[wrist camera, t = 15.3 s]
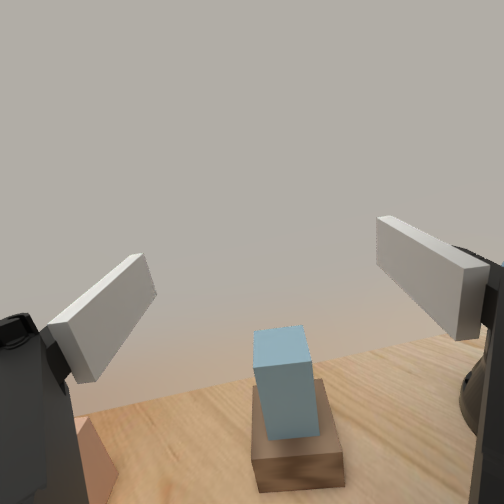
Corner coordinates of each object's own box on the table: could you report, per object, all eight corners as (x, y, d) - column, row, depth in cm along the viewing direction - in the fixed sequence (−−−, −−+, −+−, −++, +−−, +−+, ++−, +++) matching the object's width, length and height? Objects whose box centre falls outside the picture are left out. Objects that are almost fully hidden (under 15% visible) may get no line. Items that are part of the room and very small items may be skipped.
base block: (325, 408, 41) (322, 378, 39) (344, 486, 31) (342, 451, 29) (259, 415, 41) (252, 386, 39) (259, 492, 32) (251, 459, 30)
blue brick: (310, 392, 37) (302, 325, 33) (319, 435, 31) (311, 361, 27) (266, 396, 37) (253, 331, 33) (268, 440, 32) (253, 367, 28)
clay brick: (118, 473, 37) (88, 416, 33) (94, 532, 31) (54, 471, 27) (77, 477, 37) (42, 421, 33) (45, 536, 32) (-1, 476, 28)
